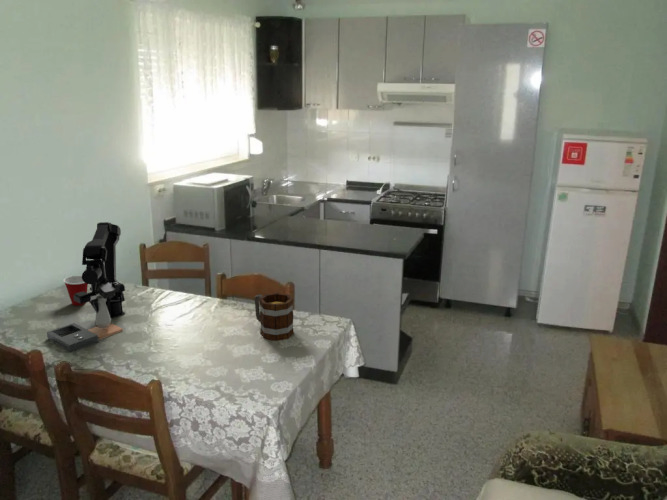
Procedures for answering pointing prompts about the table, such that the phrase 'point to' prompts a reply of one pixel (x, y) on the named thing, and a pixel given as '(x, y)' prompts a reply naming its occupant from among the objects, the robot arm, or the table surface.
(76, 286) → the plastic cup
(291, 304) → the mug
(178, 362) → the table surface
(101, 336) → the terracotta coaster
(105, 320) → the salt shaker
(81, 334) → the grey rectangular device
